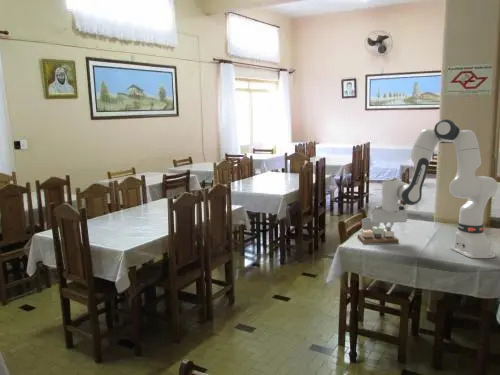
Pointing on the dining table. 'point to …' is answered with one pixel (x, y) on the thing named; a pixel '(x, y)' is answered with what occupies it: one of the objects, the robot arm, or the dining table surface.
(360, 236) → the brown flat board
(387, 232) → the key one
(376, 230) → the key two
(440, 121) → the robot arm
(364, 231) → the key three
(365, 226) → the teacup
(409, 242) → the dining table surface
